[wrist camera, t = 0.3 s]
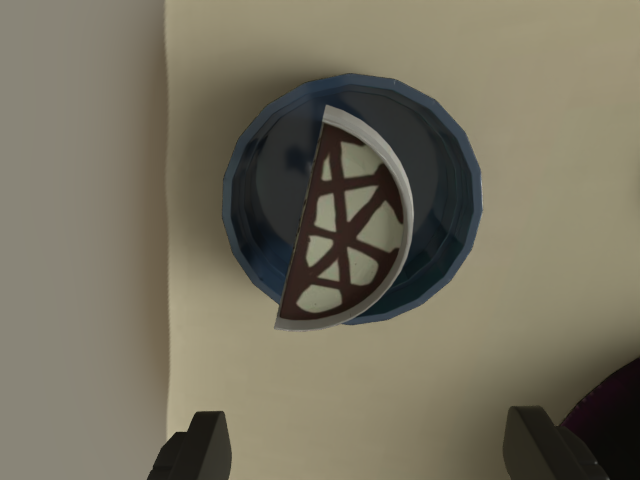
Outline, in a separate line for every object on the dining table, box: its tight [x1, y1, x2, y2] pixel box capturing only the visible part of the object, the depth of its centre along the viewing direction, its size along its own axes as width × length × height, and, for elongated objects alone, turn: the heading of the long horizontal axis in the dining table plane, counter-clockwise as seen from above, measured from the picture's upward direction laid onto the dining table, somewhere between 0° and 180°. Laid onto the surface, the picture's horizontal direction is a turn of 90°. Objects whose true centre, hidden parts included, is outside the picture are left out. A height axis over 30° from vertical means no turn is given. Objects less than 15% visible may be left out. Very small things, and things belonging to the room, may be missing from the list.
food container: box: [274, 105, 414, 331], centre depth 24 cm, size 12×6×10 cm, turn 167°
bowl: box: [222, 73, 483, 325], centre depth 27 cm, size 16×16×5 cm
